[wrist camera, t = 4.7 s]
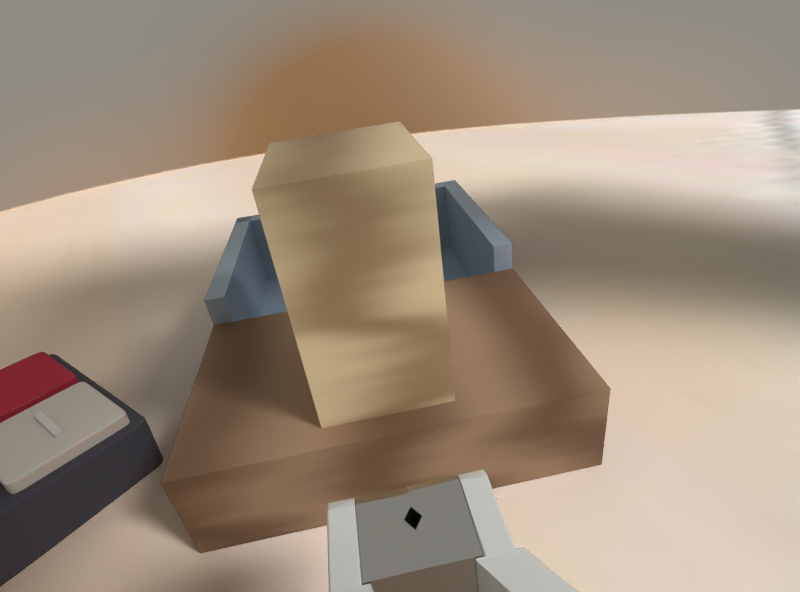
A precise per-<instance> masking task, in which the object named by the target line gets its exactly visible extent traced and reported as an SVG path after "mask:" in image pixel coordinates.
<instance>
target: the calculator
mask: <svg viewBox="0 0 800 592" xmlns="http://www.w3.org/2000/svg"><path fill="white" fill-rule="evenodd" d="M162 461H163V457H162V455H161V453H160V451H159V448H158V446H157V444H156V441H155V439H154V437H153V435H152V432H151V430H150V428H149V426H148V424H147V422H146V420H145V418H144V417H143V416H141V415H140V414H138V413H137V412H136V411H134V410H133V409H131V408H130V407H129V406H127V405H126V404H124V403H123V402H122V401H120V400H119V399H117V398H116V397H115V396H113V395H112V394H110V393H109V392H108V391H106V390H105V389H103V388H102V387H100V386H99V385H98V384H96V383H95V382H93V381H92V380H91V379H89V378H88V377H86V376H85V375H84V374H82V373H81V372H79V371H78V370H77V369H75V368H74V367H72V366H71V365H70V364H68V363H67V362H65V361H64V360H63V359H61V358H60V357H58V356H57V355H54V354H51V355H48V354H46V353H44V352H39V353H37V354H34V355H32V356H30V357H28V358H25V359H23V360H21V361H19V362H17V363H14V364H12V365H10V366H8V367H6V368H3V369H1V370H0V586H1V585H3V584H4V583H6V582H7V581H8V580H10V579H11V578H12V577H14V576H15V575H16V574H18V573H19V572H21V571H22V570H23V569H25V568H26V567H27V566H29V565H30V564H31V563H33V562H34V561H35V560H37V559H38V558H39V557H41V556H42V555H43V554H45V553H46V552H47V551H49V550H50V549H51V548H53V547H54V546H55V545H57V544H58V543H59V542H60V541H62V540H63V539H64V538H66V537H67V536H68V535H70V534H71V533H72V532H74V531H75V530H76V529H77V528H79V527H80V526H81V525H83V524H84V523H85V522H87V521H88V520H89V519H91V518H92V517H93V516H95V515H96V514H97V513H98V512H100V511H101V510H102V509H104V508H105V507H106V506H108V505H109V504H110V503H112V502H113V501H114V500H115V499H117V498H118V497H119V496H121V495H122V494H123V493H125V492H126V491H127V490H129V489H130V488H131V487H132V486H134V485H135V484H136V483H138V482H139V481H140V480H142V479H143V478H144V477H145V476H147V475H148V474H149V473H151V472H152V471H153V470H155V469H156V468H157V467H158V466H159V465H160V464H161V463H162Z"/></svg>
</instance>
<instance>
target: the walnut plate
mask: <svg viewBox="0 0 800 592" xmlns="http://www.w3.org/2000/svg"><path fill="white" fill-rule="evenodd" d="M444 288H445V298H446V309H447V319H448V330H449V341H450V351H451V362H452V372H453V383H454V393H455V401H451V402H447V403H442V404H437V405H432V406H427V407H423V408H418V409H413V410H408V411H403V412H398V413H394V414H389V415H384V416H379V417H374V418H370V419H365V420H360V421H355V422H350V423H345V424H341V425H336V426H331V427H326V428H321V425H320V421H319V418H318V414H317V411H316V408H315V404H314V401H313V397H312V394H311V390H310V387H309V384H308V380H307V377H306V373H305V370H304V366H303V363H302V360H301V356H300V353H299V349H298V346H297V342H296V339H295V336H294V332H293V329H292V325H291V322H290V318H289V315H288V312H287V311H286V312H281V313H276V314H271V315H265V316H260V317H255V318H249V319H244V320H239V321H234V322H228V323H223V324H218V325H214V327H213V330H212V333H211V335H210V338H209V341H208V344H207V347H206V350H205V353H204V356H203V359H202V362H201V365H200V368H199V371H198V374H197V377H196V380H195V383H194V386H193V389H192V392H191V395H190V398H189V401H188V404H187V407H186V410H185V413H184V415H183V418H182V421H181V424H180V427H179V430H178V433H177V436H176V439H175V442H174V445H173V448H172V451H171V454H170V457H169V460H168V463H167V466H166V469H165V472H164V475H163V478H162V481H161V485H162V486H163V488H164V490H165V492H166V493H167V495H168V497H169V499H170V500H171V502H172V504H173V506H174V508H175V509H176V511H177V513H178V515H179V516H180V518H181V520H182V522H183V523H184V525H185V527H186V529H187V530H188V532H189V534H190V536H191V537H192V539H193V541H194V543H195V545H196V546H197V548H198V550H199V552H200V553H203V552H207V551H212V550H216V549H221V548H225V547H230V546H234V545H239V544H243V543H248V542H252V541H257V540H261V539H266V538H270V537H275V536H279V535H284V534H288V533H293V532H297V531H302V530H306V529H311V528H315V527H320V526H324V525H327V509H328V504H329V503H332V502H336V501H341V500H346V499H350V498H356V497H360V496H366V495H371V494H376V493H381V492H386V491H392V490H397V489H402V488H407V486H410V485H415V484H419V483H423V482H427V481H431V480H436V479H440V478H444V477H448V476H453V475H457V476H458V475H460V474H465V473H469V472H473V471H478V470H484V472H485V473H486V474H487V476H488V479H489V481H490V484H491V487H492V488H496V487H501V486H505V485H510V484H514V483H519V482H523V481H528V480H532V479H537V478H541V477H546V476H550V475H555V474H559V473H564V472H568V471H573V470H577V469H582V468H586V467H591V466H595V465H600V464H602V456H603V447H604V439H605V430H606V422H607V413H608V405H609V396H610V387H609V386H608V385H607V384H606V382H605V381H604V380H603V379H602V378H601V376H600V375H599V374H598V373H597V371H596V370H595V369H594V368H593V367H592V365H591V364H590V363H589V362H588V360H587V359H586V358H585V357H584V356H583V354H582V353H581V352H580V351H579V349H578V348H577V347H576V346H575V345H574V343H573V342H572V341H571V340H570V338H569V337H568V336H567V335H566V333H565V332H564V331H563V330H562V329H561V327H560V326H559V325H558V324H557V322H556V321H555V320H554V319H553V318H552V316H551V315H550V314H549V313H548V311H547V310H546V309H545V308H544V307H543V305H542V304H541V303H540V302H539V300H538V299H537V298H536V297H535V295H534V294H533V293H532V292H531V291H530V289H529V288H528V287H527V286H526V284H525V283H524V282H523V281H522V280H521V278H520V277H519V276H518V275H517V273H516V272H515V271H514V270H513V269H508V270H502V271H497V272H492V273H487V274H481V275H476V276H471V277H465V278H460V279H455V280H450V281H444Z"/></svg>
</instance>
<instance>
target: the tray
mask: <svg viewBox="0 0 800 592" xmlns="http://www.w3.org/2000/svg"><path fill="white" fill-rule="evenodd" d="M435 193H436V204H437V214H438V225H439V235H440V246H441V256H442V267H443V277H444V281H450V280H455V279H460V278H465V277H471V276H476V275H481V274H487V273H492V272H497V271H502V270H508V269H513V267H512V242H511V241H510V240H509V239H508V238H507V237H506V236H505V235H504V234H503V233H502V231H501V230H500V229H499V228H498V227H497V226H496V225H495V224H494V223H493V222H492V221H491V219H490V218H489V217H488V216H487V215H486V214H485V213H484V212H483V211H482V210H481V208H480V207H479V206H478V205H477V204H476V203H475V202H474V201H473V200H472V199H471V197H470V196H469V195H468V194H467V193H466V192H465V191H464V190H463V189H462V188H461V186H460V185H459V184H458V183H457V182H456V181H455V180H453V181H448V182H442V183H436V184H435ZM204 301H205V303H206V306H207V309H208V311H209V314H210V316H211V319H212V321H213V324H214V325H218V324H223V323H228V322H234V321H239V320H244V319H249V318H255V317H260V316H265V315H271V314H276V313H281V312H286V311H287V308H286V305H285V301H284V298H283V294H282V291H281V287H280V284H279V281H278V277H277V274H276V270H275V267H274V263H273V260H272V257H271V253H270V250H269V246H268V243H267V239H266V236H265V233H264V229H263V226H262V222H261V219H260V215H254V216H248V217H242V218H237V221H236V223H235V226H234V228H233V231H232V233H231V236H230V238H229V241H228V243H227V246H226V248H225V251H224V253H223V255H222V258H221V260H220V263H219V265H218V268H217V270H216V273H215V275H214V278H213V280H212V283H211V285H210V288H209V290H208V293H207V295H206V298H205V300H204Z"/></svg>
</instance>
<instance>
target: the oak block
mask: <svg viewBox="0 0 800 592" xmlns="http://www.w3.org/2000/svg"><path fill="white" fill-rule="evenodd" d="M252 191H253V195H254V198H255V202H256V205H257V209H258V212H259V215H260V219H261V222H262V226H263V229H264V233H265V236H266V239H267V243H268V246H269V250H270V253H271V257H272V260H273V263H274V267H275V270H276V274H277V277H278V281H279V284H280V287H281V291H282V294H283V298H284V301H285V305H286V308H287V312H288V315H289V318H290V322H291V325H292V329H293V332H294V336H295V339H296V342H297V346H298V349H299V353H300V356H301V360H302V363H303V366H304V370H305V373H306V377H307V380H308V384H309V387H310V390H311V394H312V397H313V401H314V404H315V408H316V411H317V414H318V418H319V421H320V425H321V428H326V427H331V426H336V425H341V424H345V423H350V422H355V421H360V420H365V419H370V418H374V417H379V416H384V415H389V414H394V413H398V412H403V411H408V410H413V409H418V408H423V407H427V406H432V405H437V404H442V403H447V402H451V401H455V393H454V383H453V372H452V362H451V351H450V341H449V330H448V319H447V309H446V298H445V288H444V277H443V267H442V256H441V246H440V235H439V225H438V214H437V204H436V193H435V183H434V172H433V162H432V158H431V156H430V155H429V154H428V153H427V152H426V151H425V150H424V149H423V147H422V146H421V145H420V144H419V143H418V142H417V141H416V140H415V138H414V137H413V136H412V135H411V134H410V133H409V132H408V131H407V129H406V128H405V127H404V126H403V125H402V124H401V123H400V122H394V123H388V124H382V125H376V126H369V127H363V128H358V129H351V130H345V131H339V132H334V133H327V134H322V135H315V136H309V137H303V138H297V139H291V140H285V141H279V142H273V143H270V144H269V146H268V149H267V151H266V154H265V157H264V159H263V162H262V164H261V167H260V169H259V172H258V175H257V177H256V180H255V182H254V185H253V188H252Z"/></svg>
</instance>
